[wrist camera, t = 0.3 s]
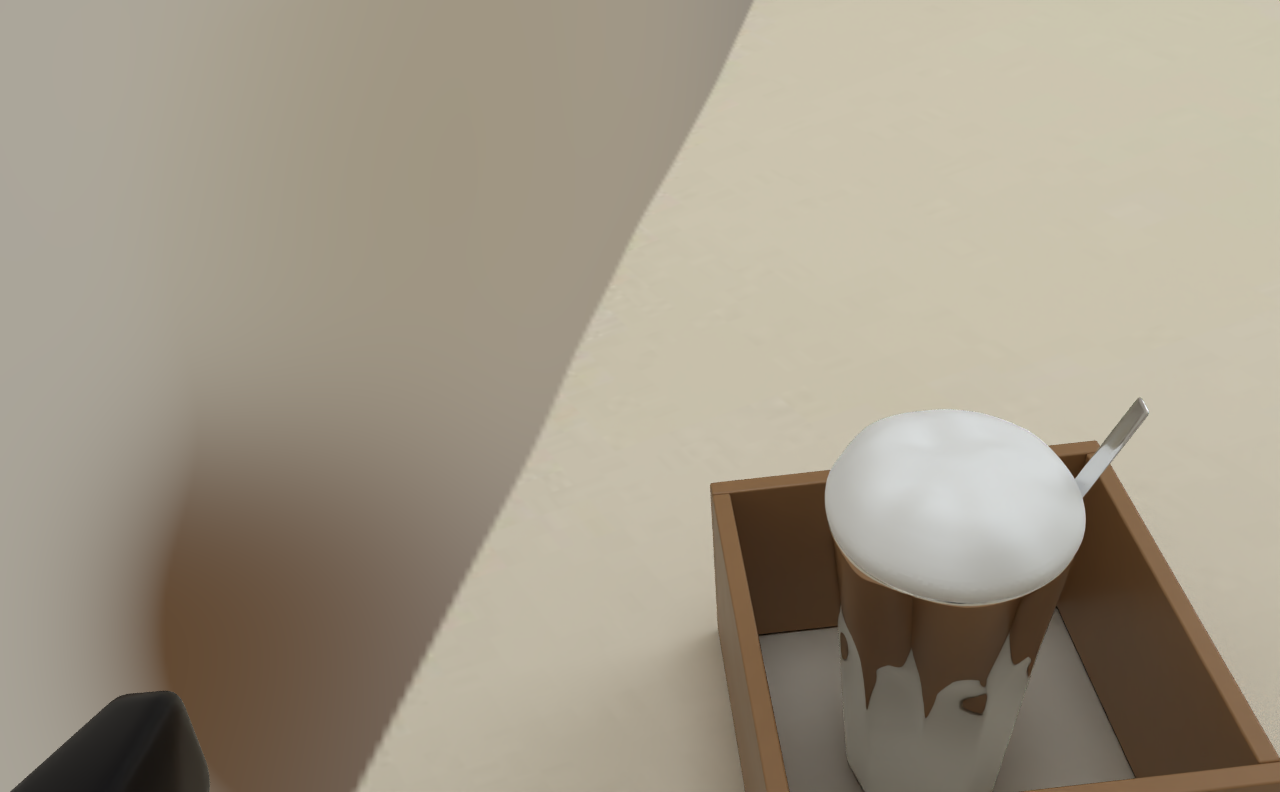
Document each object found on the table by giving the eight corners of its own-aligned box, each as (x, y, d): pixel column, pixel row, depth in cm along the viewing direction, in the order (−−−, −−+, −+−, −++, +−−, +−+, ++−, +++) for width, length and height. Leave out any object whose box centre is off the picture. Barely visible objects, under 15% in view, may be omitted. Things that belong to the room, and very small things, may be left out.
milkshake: (1092, 845, 25) (1196, 498, 18) (832, 859, 25) (848, 520, 19) (1033, 668, 28) (1103, 325, 22) (806, 682, 28) (812, 346, 22)
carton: (1227, 932, 23) (1297, 786, 20) (777, 984, 23) (776, 845, 20) (1064, 588, 30) (1097, 439, 27) (717, 627, 30) (709, 482, 27)
